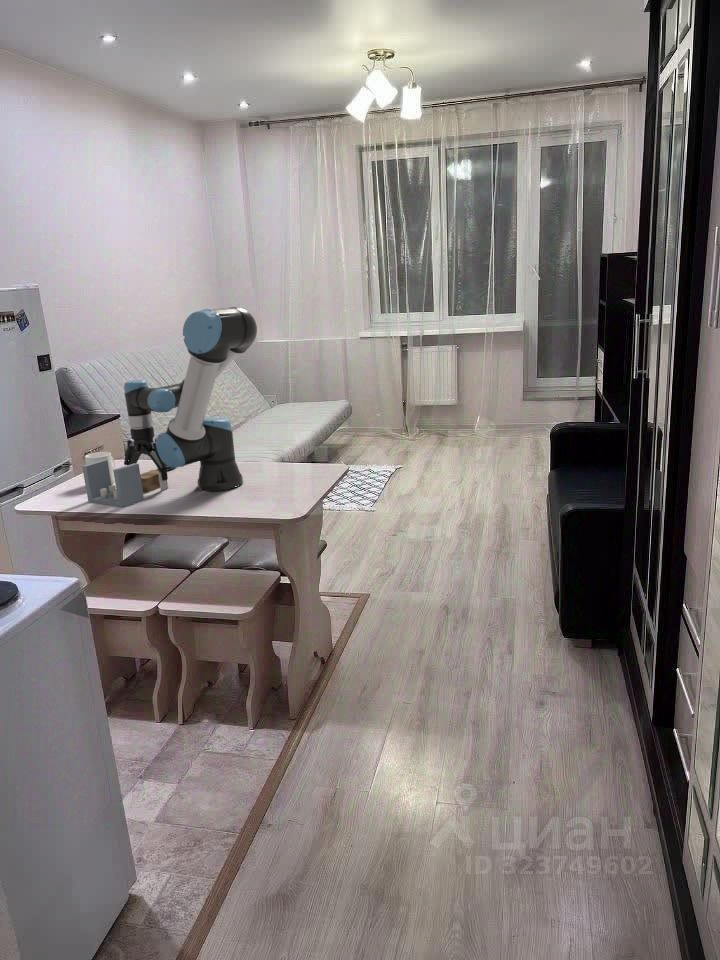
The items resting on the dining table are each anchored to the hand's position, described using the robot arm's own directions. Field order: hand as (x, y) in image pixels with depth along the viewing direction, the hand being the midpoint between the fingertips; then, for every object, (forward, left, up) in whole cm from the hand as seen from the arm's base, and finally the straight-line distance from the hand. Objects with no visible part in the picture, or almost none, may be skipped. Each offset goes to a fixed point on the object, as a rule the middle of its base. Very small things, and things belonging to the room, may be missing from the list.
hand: (150, 487), depth 246 cm
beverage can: (+14, -21, 0) cm, 25 cm away
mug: (+22, +1, 0) cm, 22 cm away
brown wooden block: (0, 0, 0) cm, 1 cm away
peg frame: (0, +15, 0) cm, 15 cm away
